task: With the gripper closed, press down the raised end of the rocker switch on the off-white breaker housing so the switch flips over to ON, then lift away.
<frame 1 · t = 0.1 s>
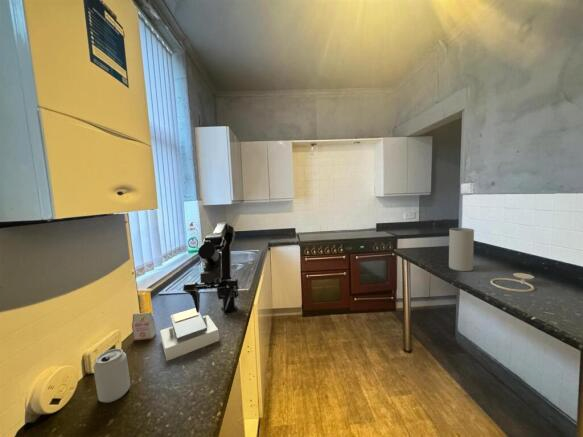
hand: (211, 311, 85), 15 cm above the counter, tool tilted 30°, fingers open, 9 cm apart
can: (115, 394, 70), on the counter
printed cardboard box: (145, 337, 98), on the counter
hand towel holder: (513, 285, 127), on the counter
breaker housing: (190, 341, 93), on the counter
rocker switch: (188, 322, 93), point 7 cm above the counter, hinge at 10.0°
cylinder vase: (460, 268, 155), on the counter
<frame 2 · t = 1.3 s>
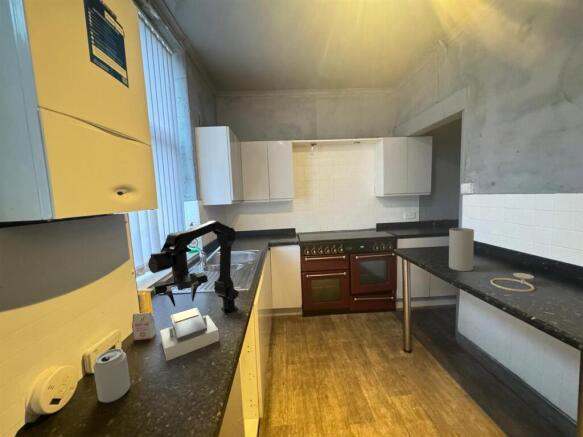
hand: (183, 303, 96), 13 cm above the counter, tool pointing down, fingers open, 6 cm apart
nothing on the counter moved.
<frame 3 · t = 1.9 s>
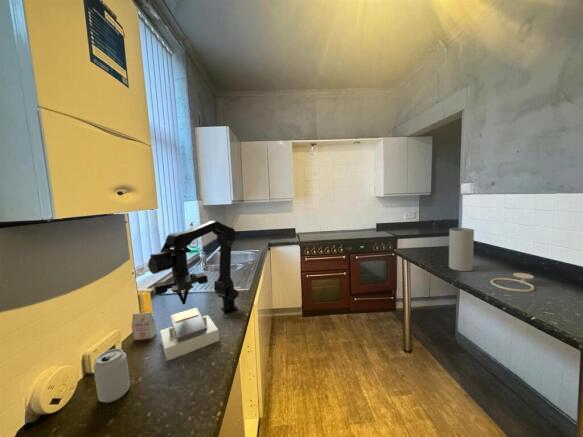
hand: (183, 304, 96), 13 cm above the counter, tool pointing down, fingers closed
nothing on the counter moved.
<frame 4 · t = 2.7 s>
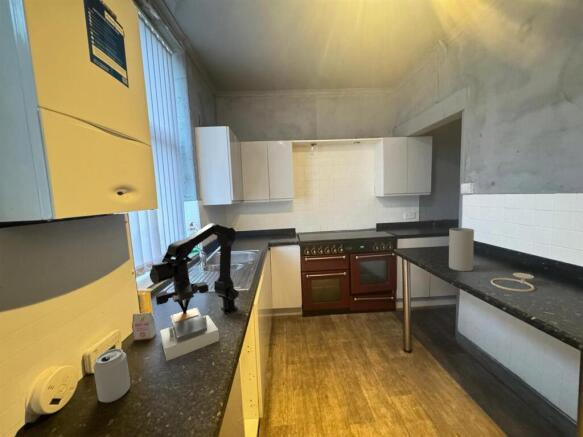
hand: (184, 313, 97), 9 cm above the counter, tool pointing down, fingers closed, pressing on rocker switch
rocker switch: (188, 322, 93), point 7 cm above the counter, hinge at 9.1°, touching gripper
everything else where it was.
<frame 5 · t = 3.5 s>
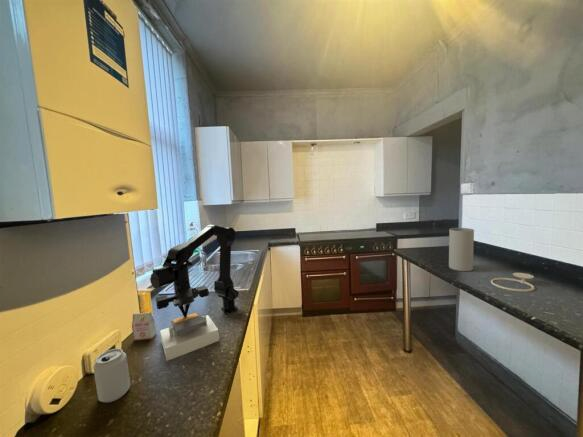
hand: (185, 316, 97), 7 cm above the counter, tool pointing down, fingers closed, pressing on rocker switch
rocker switch: (188, 322, 93), point 7 cm above the counter, hinge at -9.8°, touching gripper
everything else where it was.
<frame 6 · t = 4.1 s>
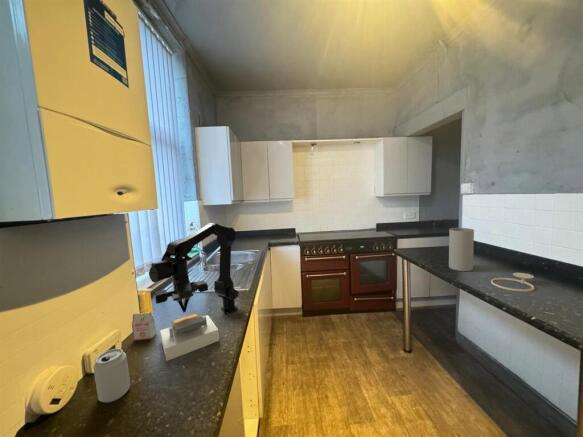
hand: (184, 311, 97), 10 cm above the counter, tool pointing down, fingers closed
rocker switch: (188, 322, 93), point 7 cm above the counter, hinge at -12.9°
everything else where it was.
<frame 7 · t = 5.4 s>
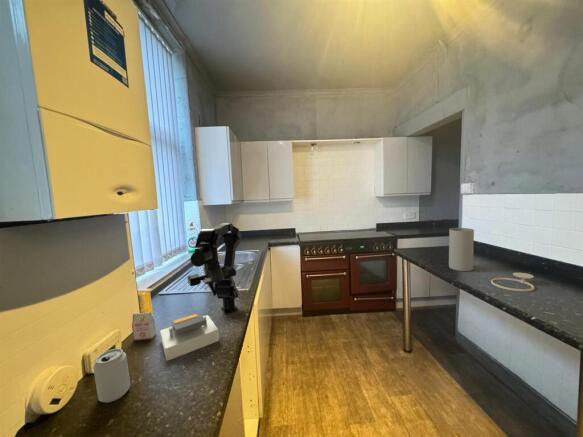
hand: (214, 295, 103), 13 cm above the counter, tool pointing down, fingers closed
rocker switch: (188, 322, 93), point 7 cm above the counter, hinge at -13.3°
everything else where it was.
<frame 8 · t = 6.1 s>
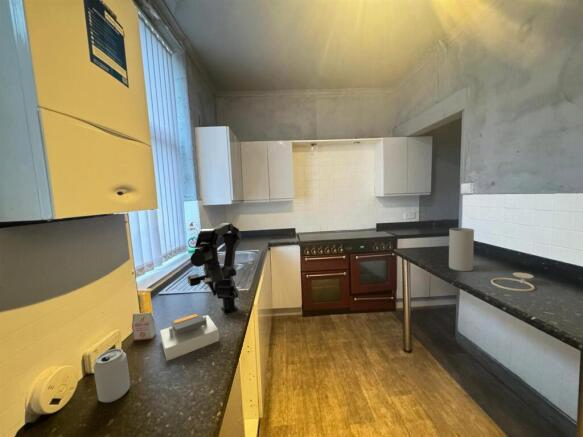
hand: (214, 295, 103), 13 cm above the counter, tool pointing down, fingers closed
nothing on the counter moved.
at the end: rocker switch at -13° (first picture: +10°) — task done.
